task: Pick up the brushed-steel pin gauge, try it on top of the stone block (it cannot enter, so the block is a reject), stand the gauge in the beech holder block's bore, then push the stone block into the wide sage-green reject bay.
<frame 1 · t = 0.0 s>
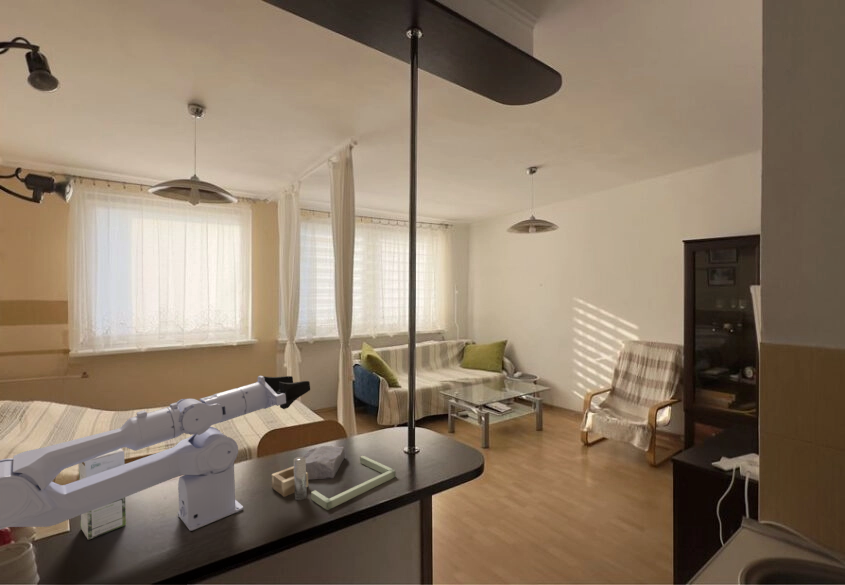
hand: (300, 382, 91), 22 cm above the table, tool horizontal, fingers open, 7 cm apart
pin gauge: (300, 497, 82), on the table
syrup box: (103, 528, 73), on the table
reject bay: (346, 482, 88), on the table
stone block: (320, 469, 96), on the table
holder block: (290, 487, 86), on the table
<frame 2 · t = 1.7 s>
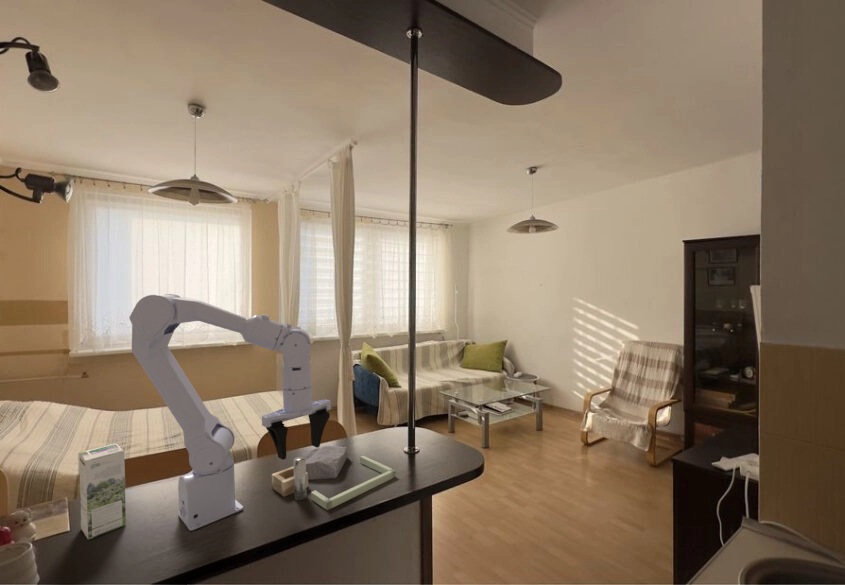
hand: (299, 451, 82), 10 cm above the table, tool pointing down, fingers open, 7 cm apart
nothing on the table moved.
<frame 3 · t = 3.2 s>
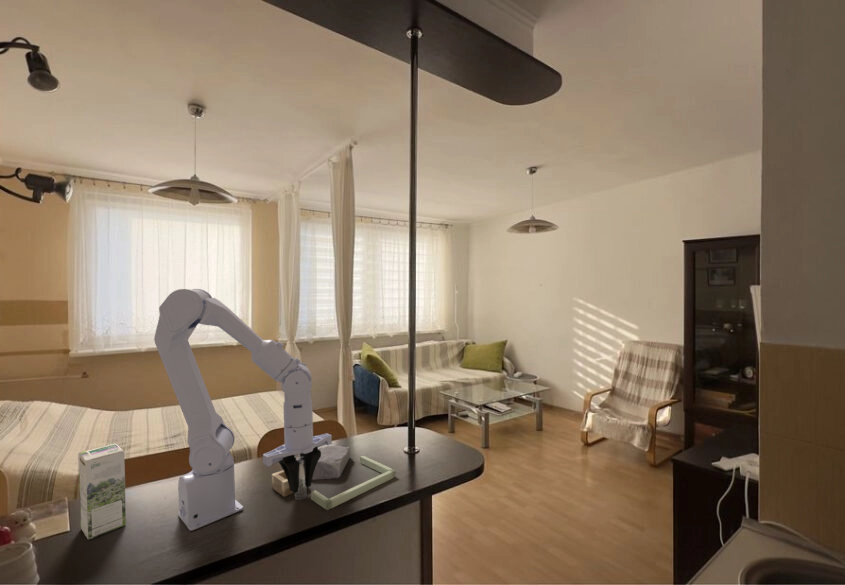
hand: (300, 487, 82), 2 cm above the table, tool pointing down, fingers closed on pin gauge, 2 cm apart
pin gauge: (300, 497, 82), on the table, touching gripper
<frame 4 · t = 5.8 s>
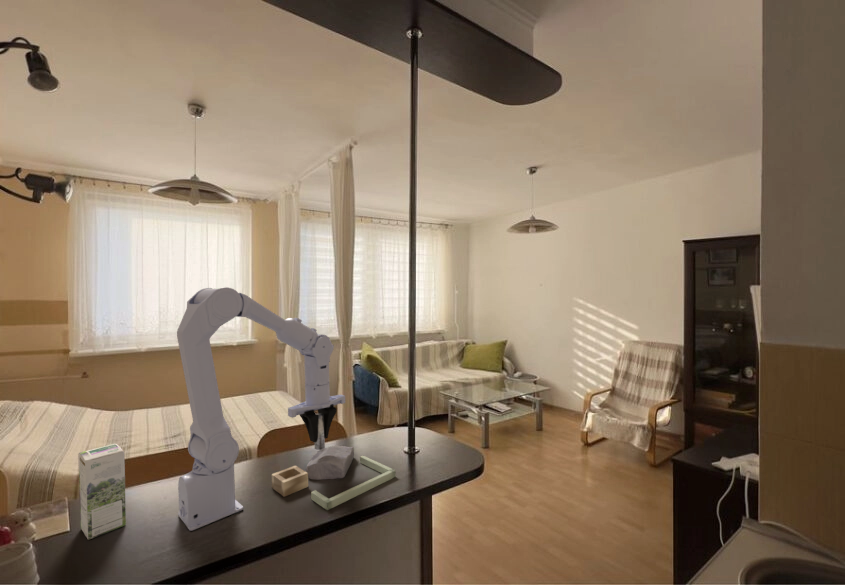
hand: (318, 439, 96), 7 cm above the table, tool pointing down, fingers closed on pin gauge, 2 cm apart
pin gauge: (319, 447, 95), point 5 cm above the table, touching gripper
stone block: (329, 469, 96), on the table
everything else where it was.
when the fingers open (4 cm above the table, at t = 8.3 s): pin gauge drops 2 cm, resting in holder block.
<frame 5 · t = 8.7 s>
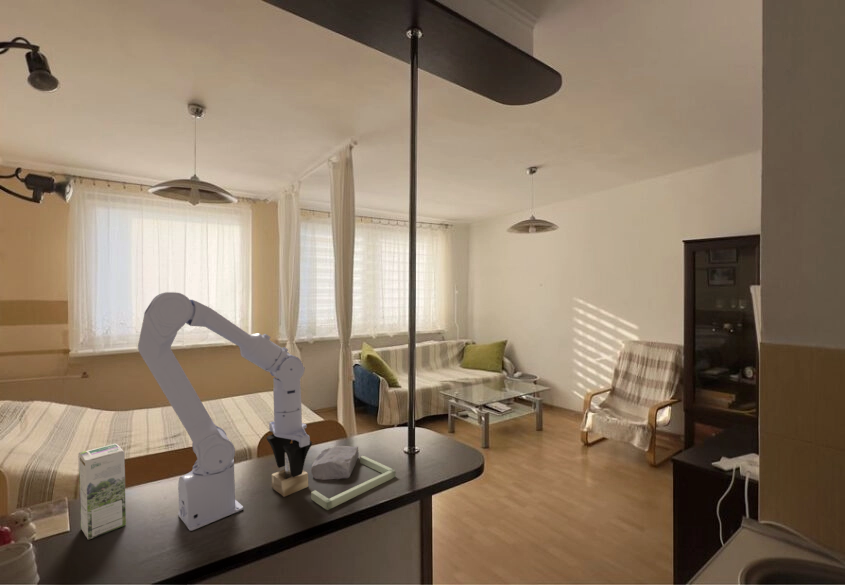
hand: (289, 470, 86), 4 cm above the table, tool pointing down, fingers open, 6 cm apart
pin gauge: (291, 486, 87), resting in holder block
stone block: (334, 469, 95), on the table
everything else where it was.
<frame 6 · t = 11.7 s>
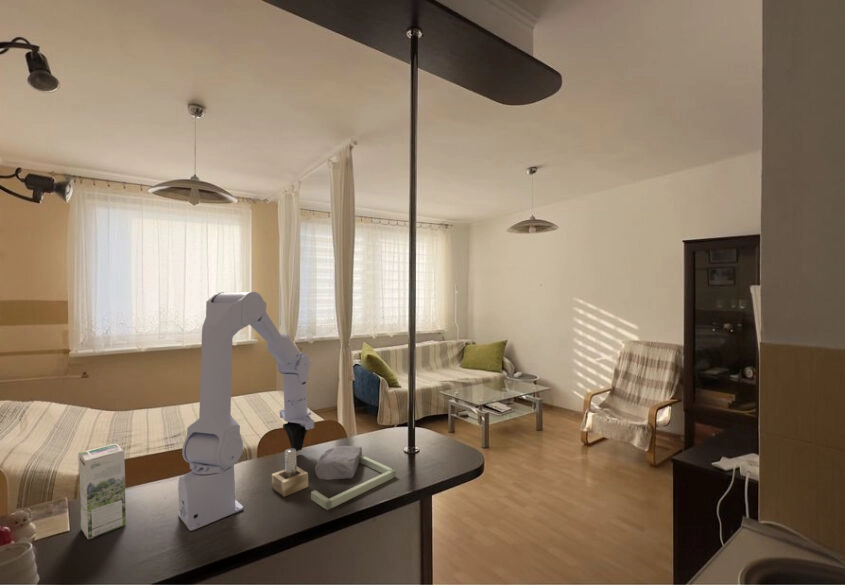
hand: (297, 450, 103), 1 cm above the table, tool pointing down, fingers closed
nothing on the table moved.
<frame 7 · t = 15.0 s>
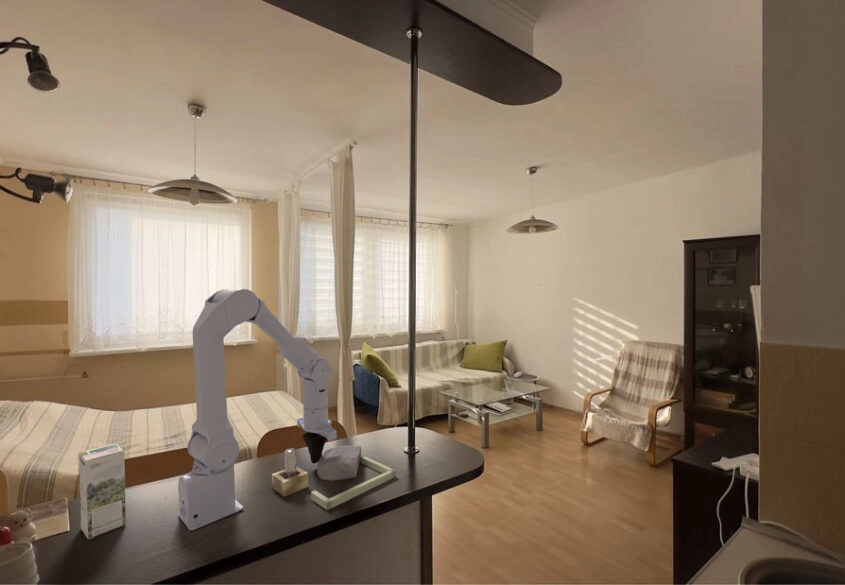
hand: (316, 462, 96), 1 cm above the table, tool pointing down, fingers closed, pressing on stone block
stone block: (339, 469, 95), on the table, touching gripper, reject bay
everything else where it was.
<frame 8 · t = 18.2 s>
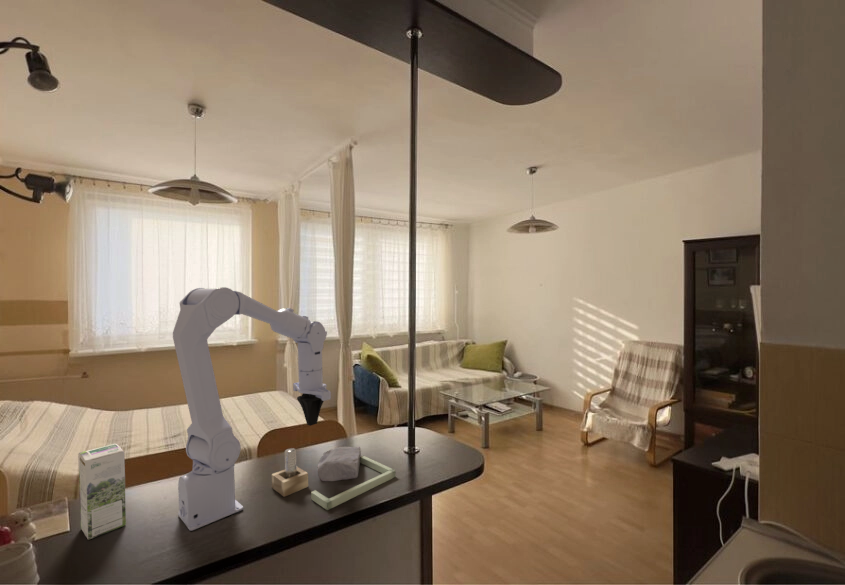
hand: (312, 424, 98), 10 cm above the table, tool pointing down, fingers closed
stone block: (339, 470, 95), on the table
everything else where it was.
at the end: stone block inside the target area (5.3 cm from its centre), on the table; pin gauge 0.3 cm from the holder block (horizontally) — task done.
